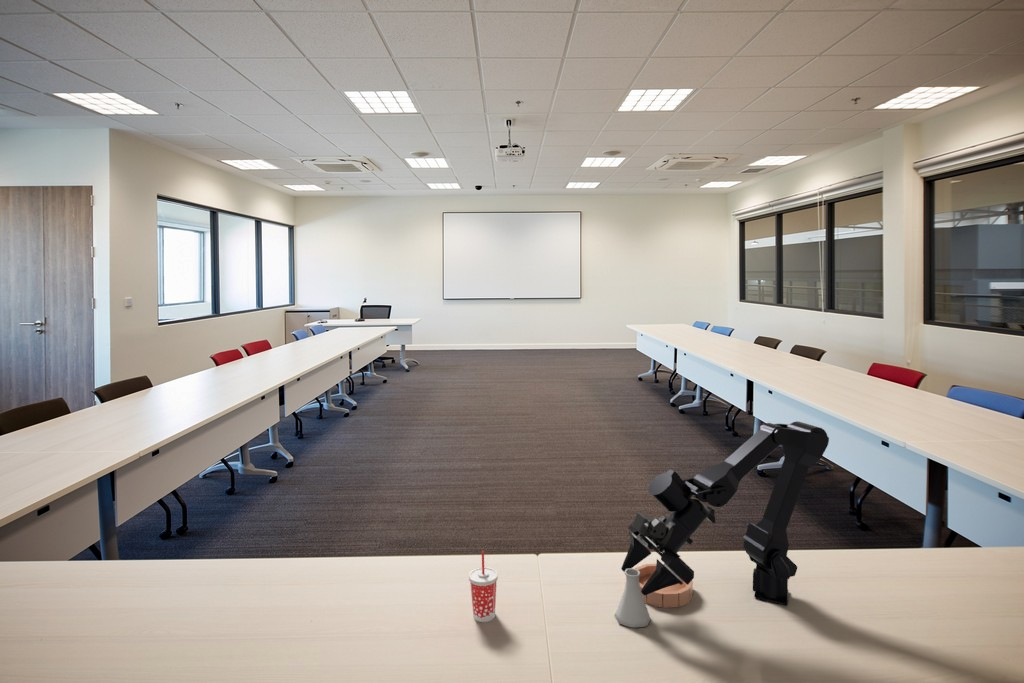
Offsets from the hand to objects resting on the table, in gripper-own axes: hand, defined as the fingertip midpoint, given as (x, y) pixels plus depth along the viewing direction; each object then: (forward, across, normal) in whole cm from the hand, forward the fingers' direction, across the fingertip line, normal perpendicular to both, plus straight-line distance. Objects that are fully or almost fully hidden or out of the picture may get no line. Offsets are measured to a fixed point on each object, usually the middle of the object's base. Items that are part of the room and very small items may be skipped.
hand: (632, 581), depth 109 cm
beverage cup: (+27, -8, -15) cm, 32 cm away
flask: (+6, 0, +6) cm, 8 cm away
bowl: (-2, -8, +13) cm, 16 cm away
